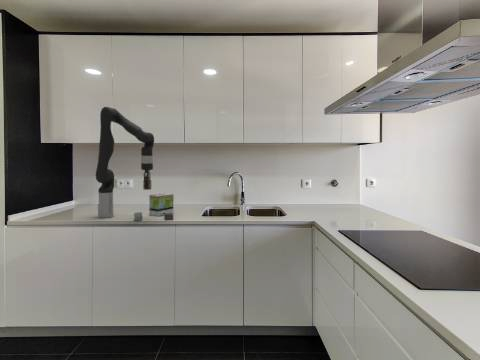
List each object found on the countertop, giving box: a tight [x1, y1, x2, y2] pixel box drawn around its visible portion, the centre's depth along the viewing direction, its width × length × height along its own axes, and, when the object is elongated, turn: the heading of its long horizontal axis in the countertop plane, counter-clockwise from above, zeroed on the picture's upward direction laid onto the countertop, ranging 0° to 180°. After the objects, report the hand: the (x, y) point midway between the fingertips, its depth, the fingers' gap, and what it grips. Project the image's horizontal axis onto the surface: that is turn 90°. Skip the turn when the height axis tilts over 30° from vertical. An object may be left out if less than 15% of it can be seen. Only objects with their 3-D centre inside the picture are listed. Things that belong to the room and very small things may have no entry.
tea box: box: [148, 192, 174, 217], centre depth 221 cm, size 15×10×15 cm, turn 149°
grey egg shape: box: [133, 211, 143, 222], centre depth 200 cm, size 5×5×5 cm
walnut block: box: [142, 179, 152, 191], centre depth 201 cm, size 4×4×6 cm
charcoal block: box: [163, 213, 174, 221], centre depth 203 cm, size 5×5×4 cm
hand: (147, 188), depth 201 cm, fingers closed on walnut block, 4 cm apart
